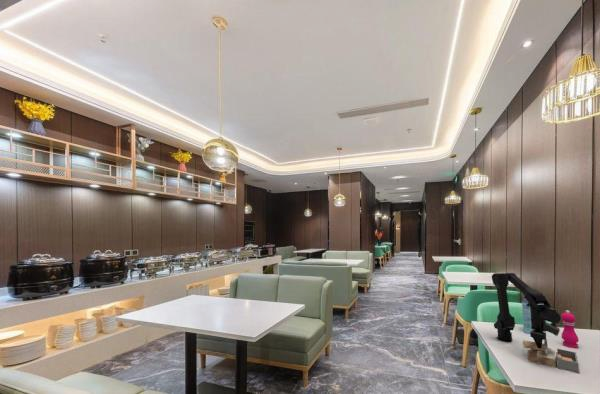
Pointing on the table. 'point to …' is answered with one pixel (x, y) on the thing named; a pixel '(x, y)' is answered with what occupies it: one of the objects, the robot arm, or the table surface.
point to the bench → (542, 357)
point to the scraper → (533, 346)
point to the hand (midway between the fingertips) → (539, 347)
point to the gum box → (526, 316)
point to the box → (565, 363)
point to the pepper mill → (569, 330)
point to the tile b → (566, 358)
